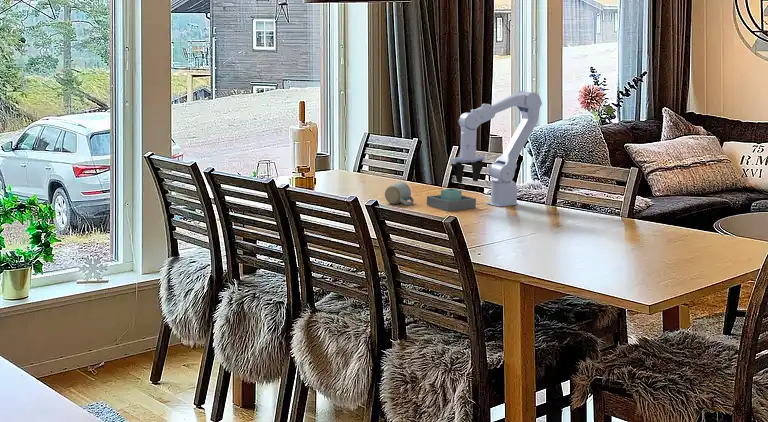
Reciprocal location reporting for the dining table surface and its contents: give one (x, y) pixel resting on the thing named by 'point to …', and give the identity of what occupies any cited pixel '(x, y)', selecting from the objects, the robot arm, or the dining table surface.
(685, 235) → the dining table surface
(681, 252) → the dining table surface
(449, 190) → the small crate
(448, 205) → the big crate
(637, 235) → the dining table surface
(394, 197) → the ceramic mug
